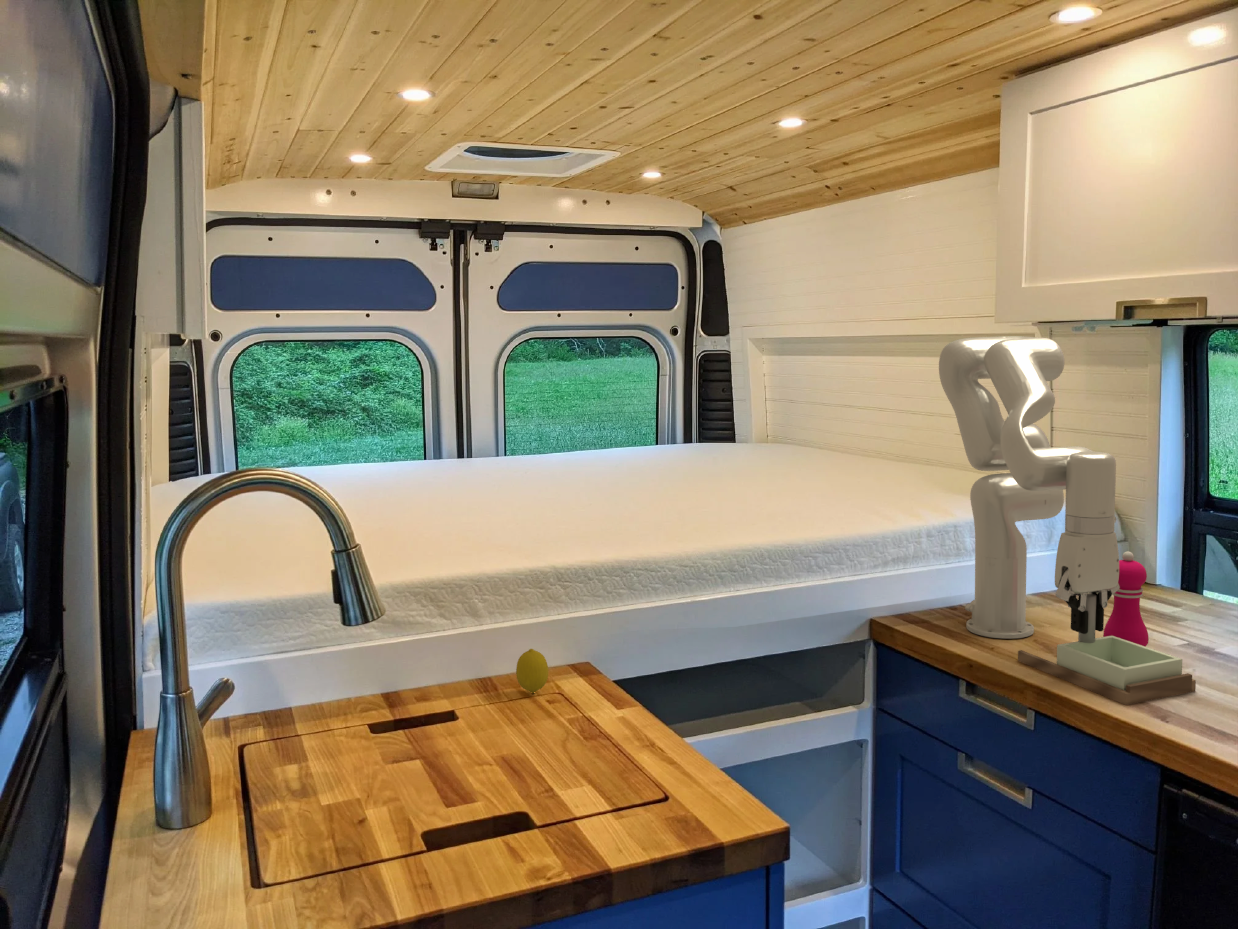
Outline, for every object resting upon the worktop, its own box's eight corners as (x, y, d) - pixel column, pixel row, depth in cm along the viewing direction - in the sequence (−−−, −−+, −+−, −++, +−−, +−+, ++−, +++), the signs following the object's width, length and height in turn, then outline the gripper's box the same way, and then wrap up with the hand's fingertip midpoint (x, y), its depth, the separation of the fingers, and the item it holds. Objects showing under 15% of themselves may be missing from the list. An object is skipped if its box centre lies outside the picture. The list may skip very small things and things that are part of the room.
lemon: (548, 698, 165) (546, 653, 164) (515, 700, 165) (513, 654, 164) (550, 687, 171) (548, 643, 170) (518, 688, 171) (516, 644, 170)
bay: (1017, 667, 172) (1018, 645, 172) (1081, 656, 177) (1081, 634, 177) (1125, 712, 150) (1126, 687, 150) (1195, 698, 155) (1196, 674, 155)
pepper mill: (1156, 666, 170) (1159, 555, 168) (1114, 668, 170) (1117, 556, 168) (1135, 653, 177) (1138, 546, 175) (1095, 655, 177) (1097, 547, 175)
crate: (1052, 671, 166) (1054, 597, 164) (1107, 661, 170) (1109, 589, 168) (1123, 700, 152) (1126, 620, 150) (1181, 689, 156) (1184, 610, 154)
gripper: (1108, 517, 170) (1106, 619, 172) (1034, 525, 165) (1032, 630, 167) (1144, 524, 163) (1141, 630, 165) (1068, 533, 158) (1066, 643, 160)
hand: (1086, 629), depth 166 cm, fingers closed on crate, 2 cm apart
